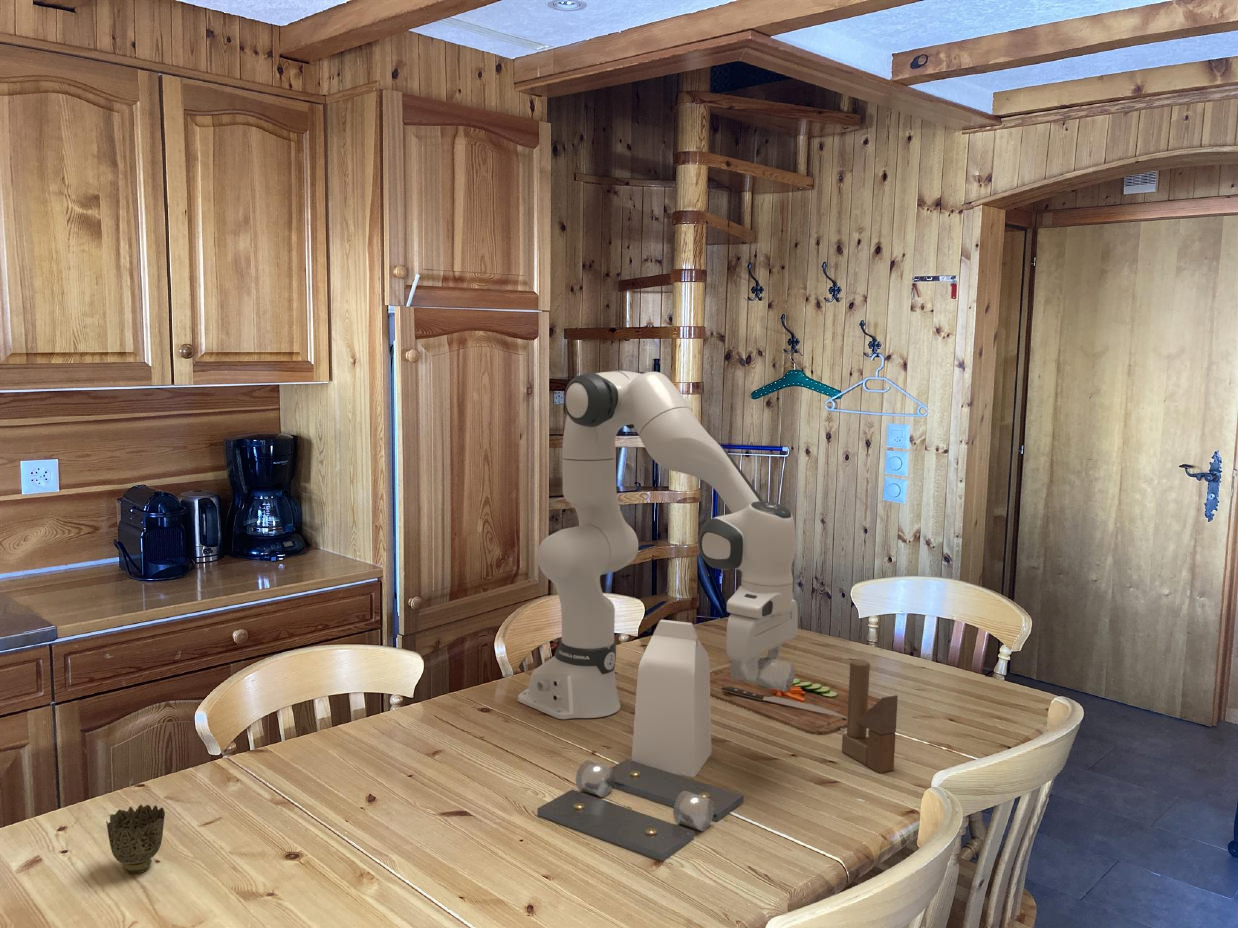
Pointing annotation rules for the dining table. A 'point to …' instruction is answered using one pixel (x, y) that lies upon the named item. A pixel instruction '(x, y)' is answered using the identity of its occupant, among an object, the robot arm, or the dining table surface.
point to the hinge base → (634, 828)
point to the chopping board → (789, 701)
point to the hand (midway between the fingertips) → (761, 673)
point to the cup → (136, 836)
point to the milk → (673, 702)
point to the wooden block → (869, 723)
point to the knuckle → (767, 673)
